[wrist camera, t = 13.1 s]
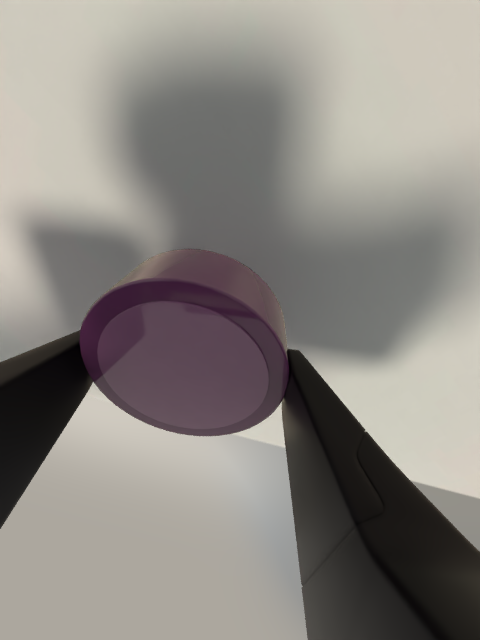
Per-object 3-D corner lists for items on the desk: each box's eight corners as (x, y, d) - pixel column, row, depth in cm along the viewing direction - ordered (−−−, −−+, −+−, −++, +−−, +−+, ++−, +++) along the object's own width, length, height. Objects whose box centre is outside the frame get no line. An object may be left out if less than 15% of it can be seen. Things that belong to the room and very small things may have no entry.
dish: (134, 378, 11) (104, 426, 9) (101, 238, 8) (42, 265, 6) (271, 395, 11) (272, 448, 9) (301, 258, 8) (313, 294, 6)
